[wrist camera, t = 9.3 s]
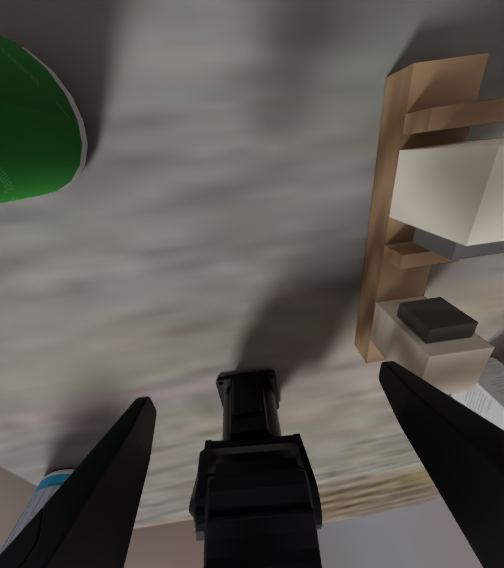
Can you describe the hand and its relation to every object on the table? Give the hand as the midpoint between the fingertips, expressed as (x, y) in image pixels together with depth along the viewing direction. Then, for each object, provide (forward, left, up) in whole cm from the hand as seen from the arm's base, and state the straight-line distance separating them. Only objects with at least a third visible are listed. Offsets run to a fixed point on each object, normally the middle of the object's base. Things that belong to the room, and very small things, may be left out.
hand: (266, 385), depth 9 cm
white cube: (+5, -12, -10) cm, 16 cm away
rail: (0, -12, -12) cm, 17 cm away
